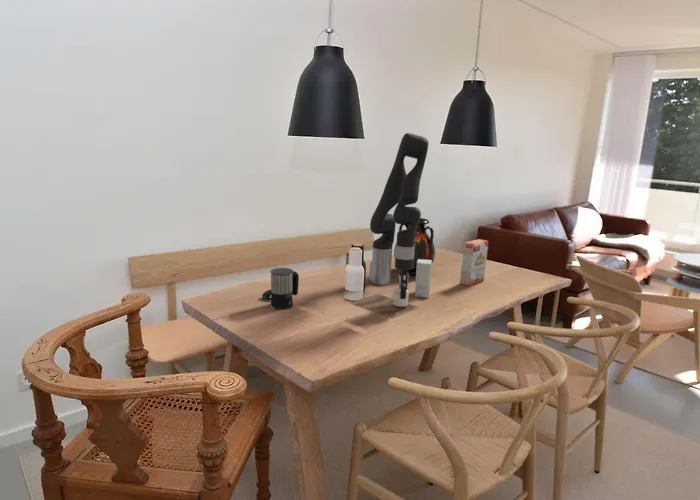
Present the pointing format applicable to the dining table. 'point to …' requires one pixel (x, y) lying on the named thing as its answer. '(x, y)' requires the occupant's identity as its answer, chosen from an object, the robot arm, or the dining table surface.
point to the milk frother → (282, 288)
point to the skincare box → (423, 278)
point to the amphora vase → (421, 244)
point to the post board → (383, 306)
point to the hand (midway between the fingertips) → (402, 295)
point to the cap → (397, 300)
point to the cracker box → (474, 262)
